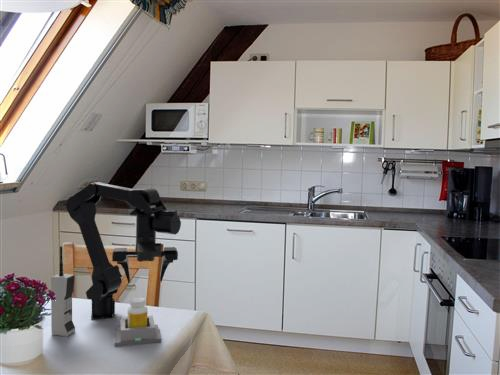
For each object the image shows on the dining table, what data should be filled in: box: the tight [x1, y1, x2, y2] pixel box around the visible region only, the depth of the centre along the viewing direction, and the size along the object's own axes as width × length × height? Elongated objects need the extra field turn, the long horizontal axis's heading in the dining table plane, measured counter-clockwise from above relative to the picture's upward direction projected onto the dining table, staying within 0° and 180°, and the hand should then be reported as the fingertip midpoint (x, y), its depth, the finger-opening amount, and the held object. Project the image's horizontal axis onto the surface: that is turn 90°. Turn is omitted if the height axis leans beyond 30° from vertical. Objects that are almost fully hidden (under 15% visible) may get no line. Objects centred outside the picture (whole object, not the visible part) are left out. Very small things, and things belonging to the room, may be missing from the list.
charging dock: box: [114, 315, 162, 348], centre depth 121 cm, size 12×10×4 cm
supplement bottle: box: [127, 297, 148, 328], centre depth 121 cm, size 5×5×10 cm
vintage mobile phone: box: [50, 246, 76, 337], centre depth 121 cm, size 4×5×25 cm
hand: (145, 282), depth 130 cm, fingers open, 9 cm apart
